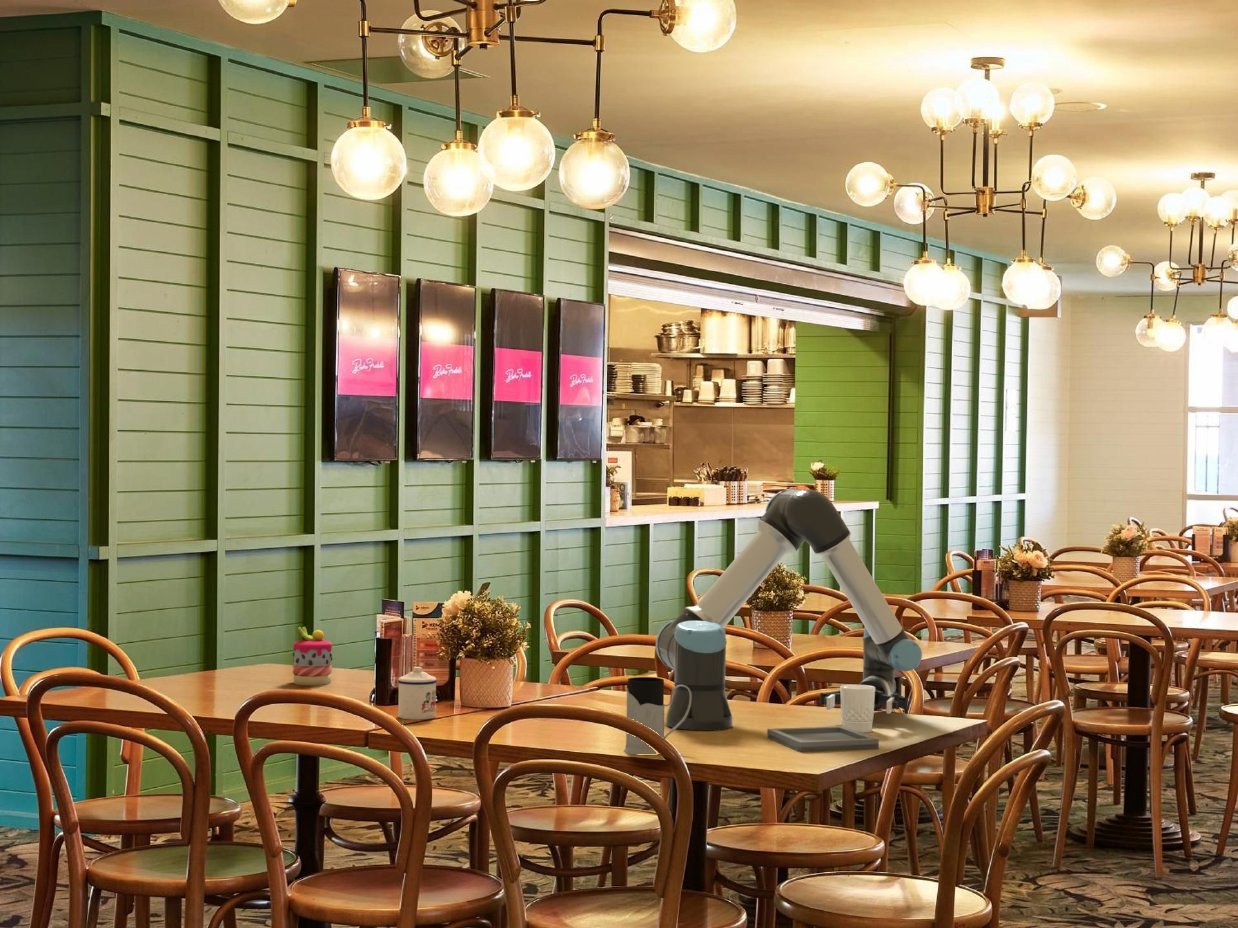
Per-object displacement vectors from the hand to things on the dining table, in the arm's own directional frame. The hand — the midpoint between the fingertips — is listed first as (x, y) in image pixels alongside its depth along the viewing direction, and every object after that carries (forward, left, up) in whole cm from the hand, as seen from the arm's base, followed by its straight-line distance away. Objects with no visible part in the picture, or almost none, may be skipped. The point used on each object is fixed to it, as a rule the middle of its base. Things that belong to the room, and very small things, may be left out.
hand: (858, 705), depth 359 cm
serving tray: (-15, -13, -6) cm, 20 cm away
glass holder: (-53, -15, -6) cm, 55 cm away
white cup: (0, +1, -6) cm, 6 cm away
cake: (-111, +106, -6) cm, 154 cm away
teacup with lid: (-93, +42, -6) cm, 102 cm away
